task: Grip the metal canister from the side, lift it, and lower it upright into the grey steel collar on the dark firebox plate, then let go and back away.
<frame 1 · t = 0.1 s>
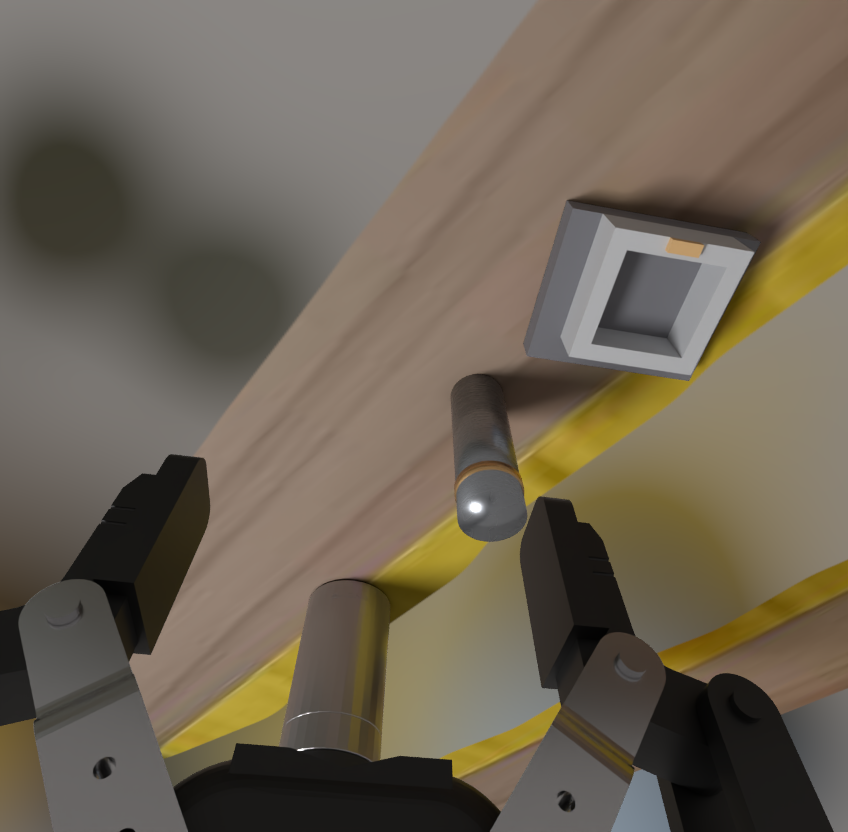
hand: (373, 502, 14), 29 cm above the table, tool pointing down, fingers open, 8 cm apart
metal canister: (476, 396, 47), on the table
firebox: (628, 291, 41), on the table
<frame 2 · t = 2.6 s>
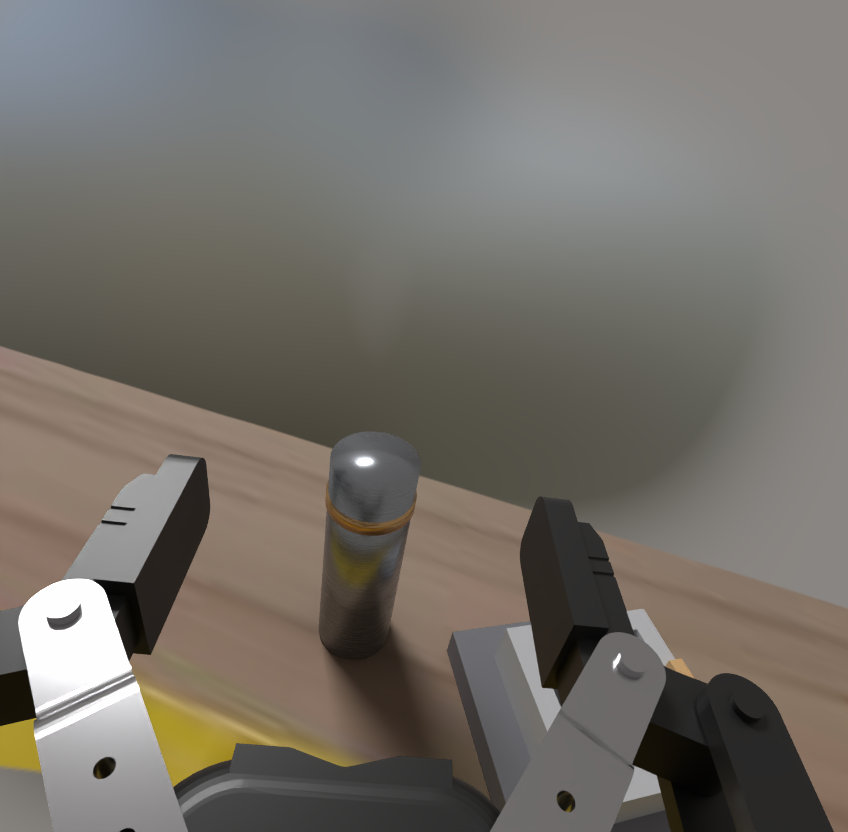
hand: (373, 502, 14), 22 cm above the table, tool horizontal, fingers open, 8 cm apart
metal canister: (354, 626, 35), on the table
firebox: (570, 742, 31), on the table
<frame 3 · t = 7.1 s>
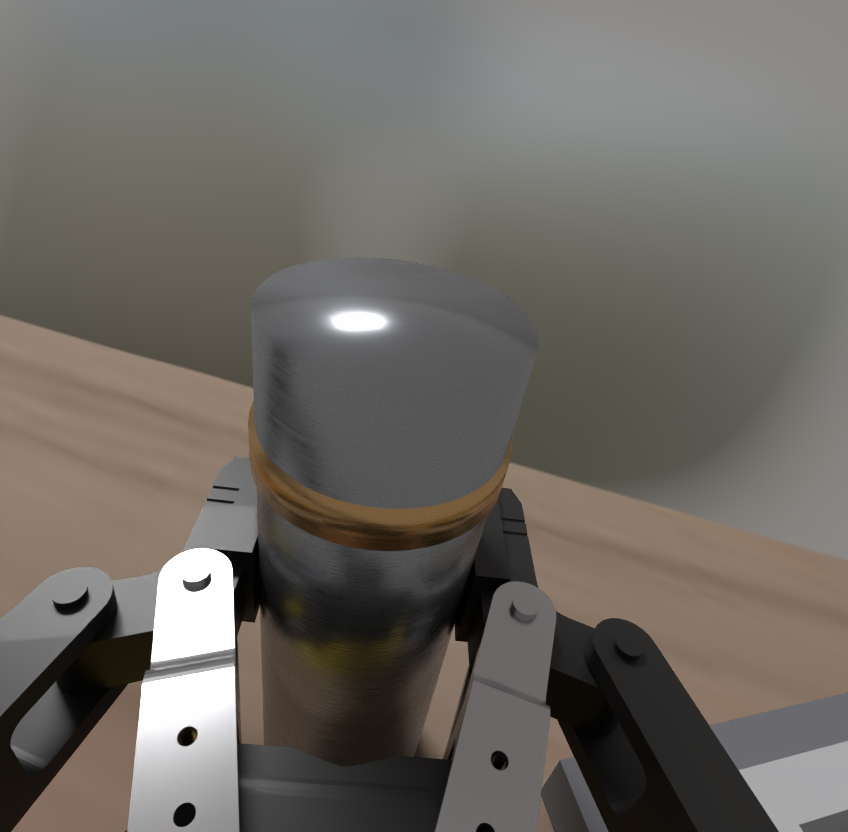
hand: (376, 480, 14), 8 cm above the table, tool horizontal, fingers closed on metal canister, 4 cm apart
metal canister: (341, 740, 17), on the table, touching gripper
when the fingers open (11 cm above the table, at t = 11.5 s): metal canister drops 1 cm, resting on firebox.
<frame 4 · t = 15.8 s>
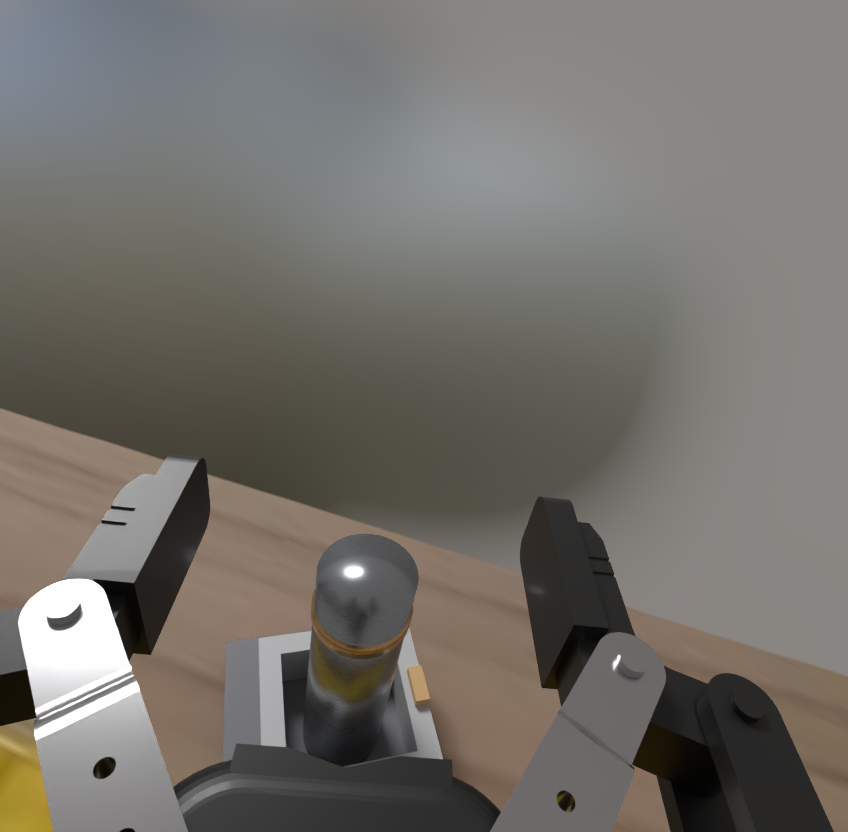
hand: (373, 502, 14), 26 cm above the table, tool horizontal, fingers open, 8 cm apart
metal canister: (341, 728, 32), point 2 cm above the table, touching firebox
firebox: (323, 746, 33), on the table
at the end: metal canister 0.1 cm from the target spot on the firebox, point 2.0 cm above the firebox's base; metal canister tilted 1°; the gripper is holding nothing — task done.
